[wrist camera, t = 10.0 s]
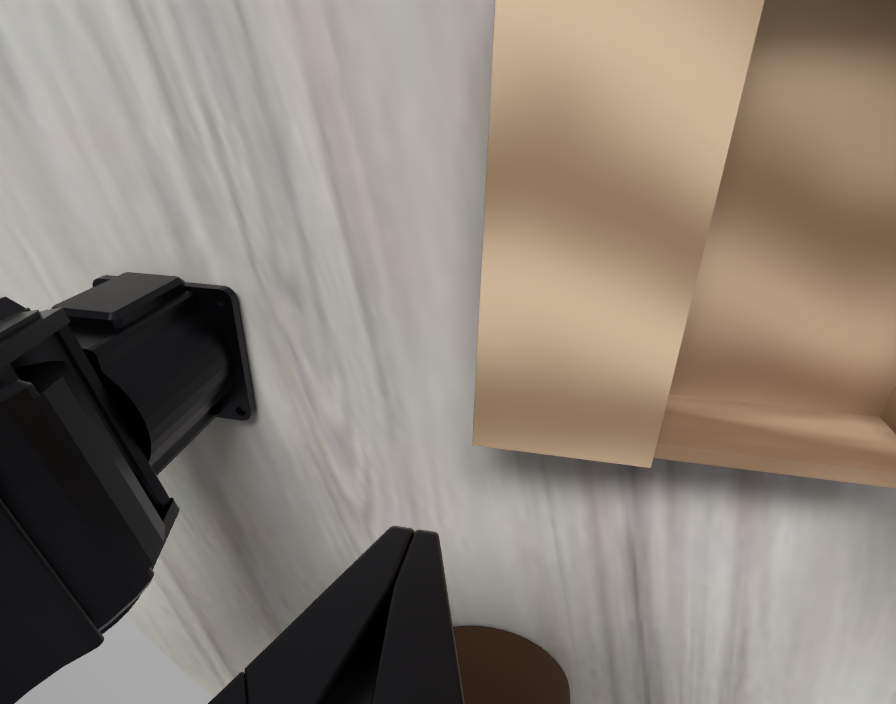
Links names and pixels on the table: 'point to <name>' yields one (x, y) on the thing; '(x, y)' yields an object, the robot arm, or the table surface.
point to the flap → (599, 213)
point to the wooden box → (800, 260)
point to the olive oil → (507, 669)
